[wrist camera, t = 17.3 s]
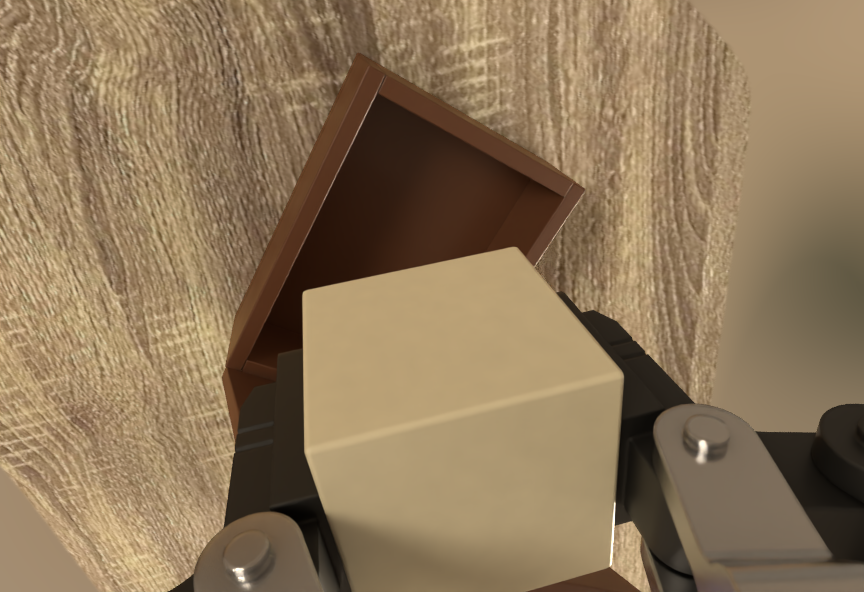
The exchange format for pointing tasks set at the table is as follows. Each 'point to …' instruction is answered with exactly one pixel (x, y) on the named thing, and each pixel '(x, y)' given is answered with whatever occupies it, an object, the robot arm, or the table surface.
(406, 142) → the wooden box
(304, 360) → the block
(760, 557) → the robot arm
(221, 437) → the table surface
